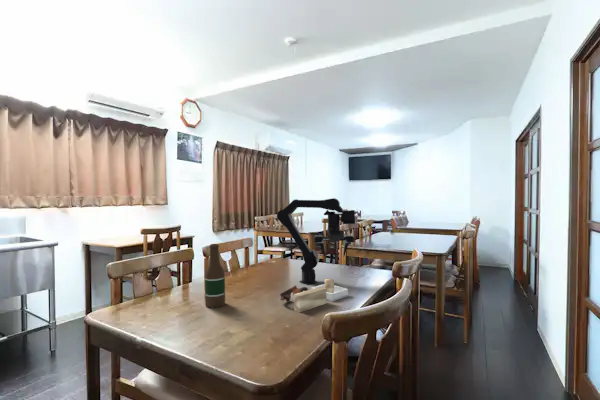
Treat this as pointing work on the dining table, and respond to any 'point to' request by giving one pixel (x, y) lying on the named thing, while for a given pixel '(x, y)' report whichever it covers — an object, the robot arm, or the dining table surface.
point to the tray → (335, 293)
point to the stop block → (309, 299)
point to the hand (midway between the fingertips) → (334, 256)
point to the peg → (329, 285)
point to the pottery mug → (288, 292)
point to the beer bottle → (214, 280)
